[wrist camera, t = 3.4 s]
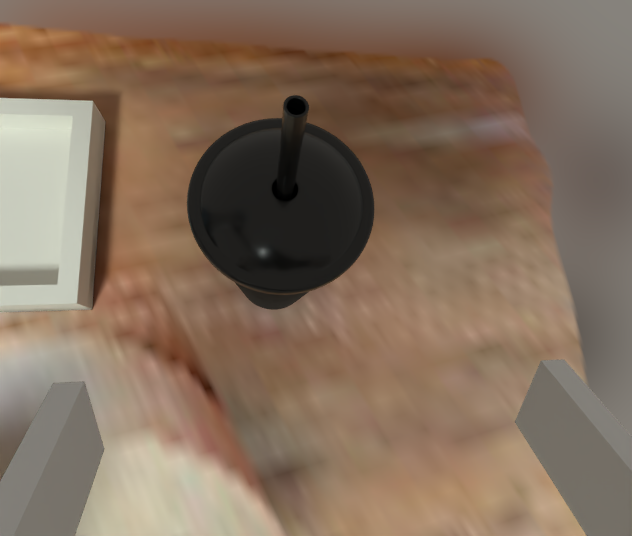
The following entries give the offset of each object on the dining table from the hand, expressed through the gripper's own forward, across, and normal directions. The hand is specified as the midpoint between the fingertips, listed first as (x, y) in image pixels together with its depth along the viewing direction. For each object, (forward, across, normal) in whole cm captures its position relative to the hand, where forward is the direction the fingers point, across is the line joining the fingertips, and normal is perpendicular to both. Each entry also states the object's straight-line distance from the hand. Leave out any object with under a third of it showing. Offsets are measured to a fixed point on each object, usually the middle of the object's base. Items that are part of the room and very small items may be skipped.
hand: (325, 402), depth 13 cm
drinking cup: (+18, -1, -6) cm, 19 cm away
